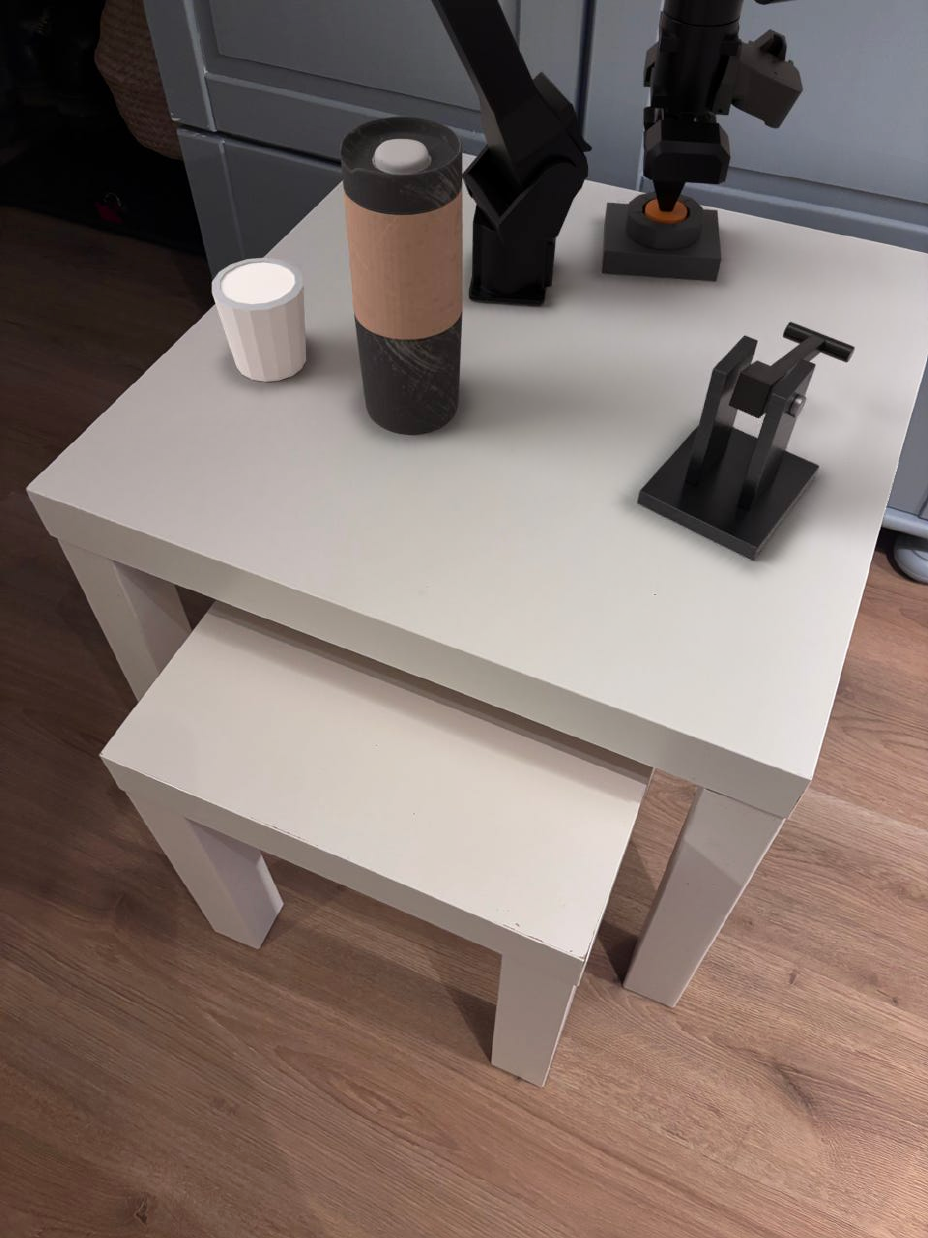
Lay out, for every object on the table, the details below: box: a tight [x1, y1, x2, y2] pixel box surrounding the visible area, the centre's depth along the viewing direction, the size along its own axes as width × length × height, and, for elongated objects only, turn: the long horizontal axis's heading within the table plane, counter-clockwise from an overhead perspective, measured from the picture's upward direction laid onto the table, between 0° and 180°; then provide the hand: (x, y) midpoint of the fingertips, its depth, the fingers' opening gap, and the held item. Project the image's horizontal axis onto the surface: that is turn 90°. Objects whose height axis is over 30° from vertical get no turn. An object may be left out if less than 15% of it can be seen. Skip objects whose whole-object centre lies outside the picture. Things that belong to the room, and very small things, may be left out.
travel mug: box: [339, 115, 464, 435], centre depth 67 cm, size 8×8×20 cm
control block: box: [601, 190, 723, 282], centre depth 87 cm, size 10×8×4 cm
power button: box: [644, 199, 687, 224], centre depth 86 cm, size 4×4×2 cm
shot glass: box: [211, 257, 307, 383], centre depth 76 cm, size 7×7×7 cm
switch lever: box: [729, 321, 856, 419], centre depth 67 cm, size 14×5×2 cm, turn 144°
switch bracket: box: [636, 334, 820, 561], centre depth 66 cm, size 10×9×11 cm
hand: (665, 209), depth 85 cm, fingers closed, pressing on power button
